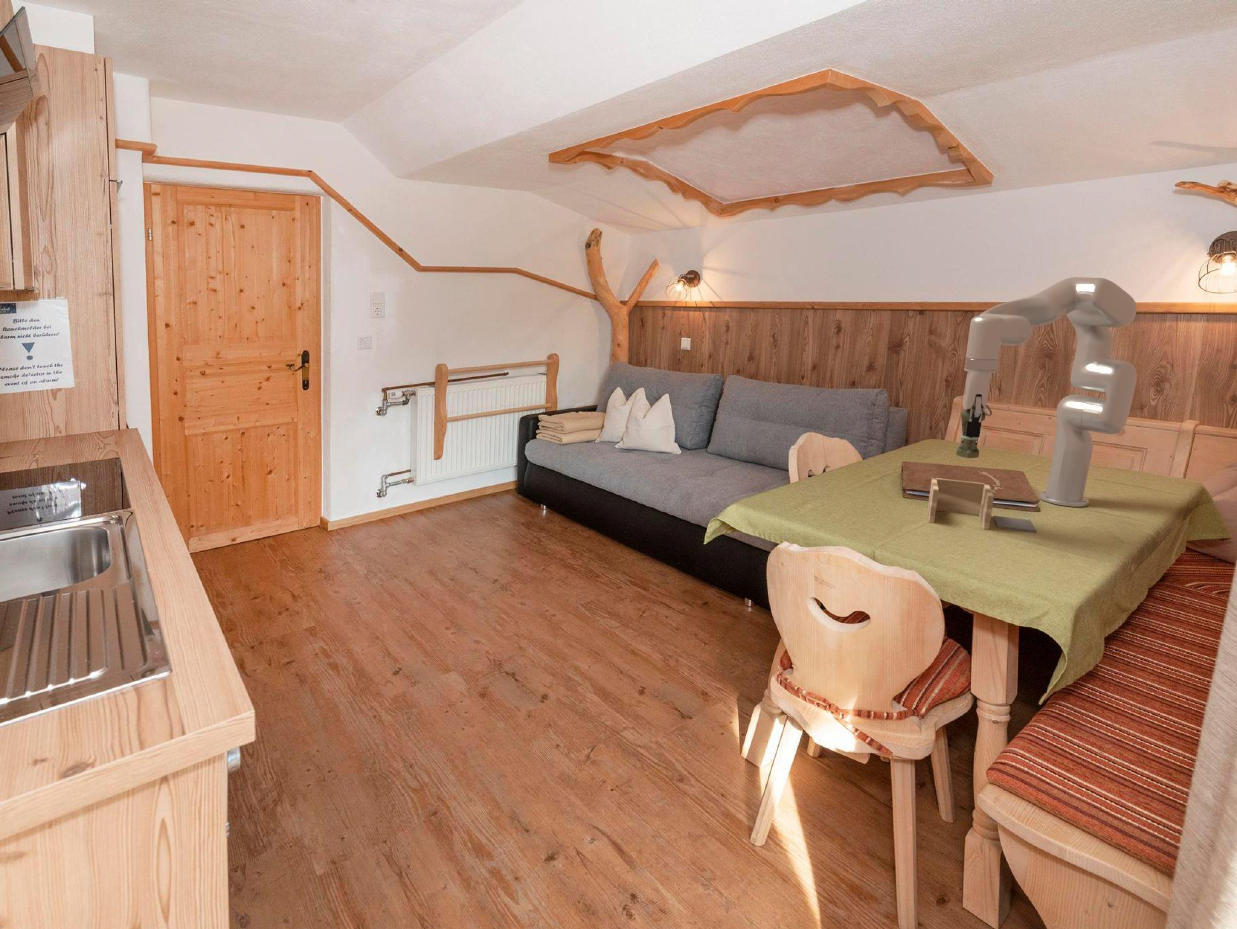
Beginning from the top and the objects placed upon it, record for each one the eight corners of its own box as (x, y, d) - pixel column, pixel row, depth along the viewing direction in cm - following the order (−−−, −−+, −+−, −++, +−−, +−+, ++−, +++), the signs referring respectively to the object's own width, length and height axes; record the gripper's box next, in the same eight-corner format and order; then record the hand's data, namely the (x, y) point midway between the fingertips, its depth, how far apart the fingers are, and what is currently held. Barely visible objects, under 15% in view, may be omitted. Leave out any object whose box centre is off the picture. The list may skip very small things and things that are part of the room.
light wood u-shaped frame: (927, 508, 207) (931, 477, 205) (983, 514, 202) (988, 483, 200) (929, 522, 195) (933, 489, 193) (988, 529, 190) (994, 496, 188)
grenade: (947, 455, 193) (956, 399, 188) (961, 450, 197) (970, 396, 192) (974, 462, 187) (984, 405, 183) (988, 457, 191) (998, 401, 186)
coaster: (993, 517, 200) (993, 515, 200) (1030, 522, 197) (1030, 520, 197) (997, 527, 192) (997, 525, 192) (1035, 532, 189) (1036, 530, 189)
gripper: (962, 360, 195) (953, 426, 200) (967, 368, 179) (957, 439, 184) (993, 362, 192) (983, 428, 197) (1001, 370, 177) (990, 442, 181)
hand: (971, 433), depth 190 cm, fingers closed on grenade, 6 cm apart
